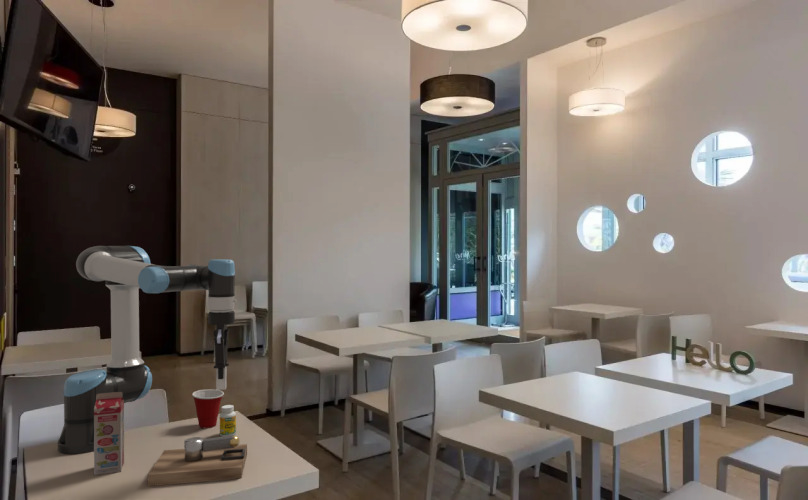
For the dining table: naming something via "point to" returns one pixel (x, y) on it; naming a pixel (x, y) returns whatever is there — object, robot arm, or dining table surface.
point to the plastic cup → (207, 406)
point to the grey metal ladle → (207, 446)
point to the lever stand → (198, 466)
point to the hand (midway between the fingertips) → (221, 388)
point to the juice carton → (108, 433)
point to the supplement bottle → (227, 421)
